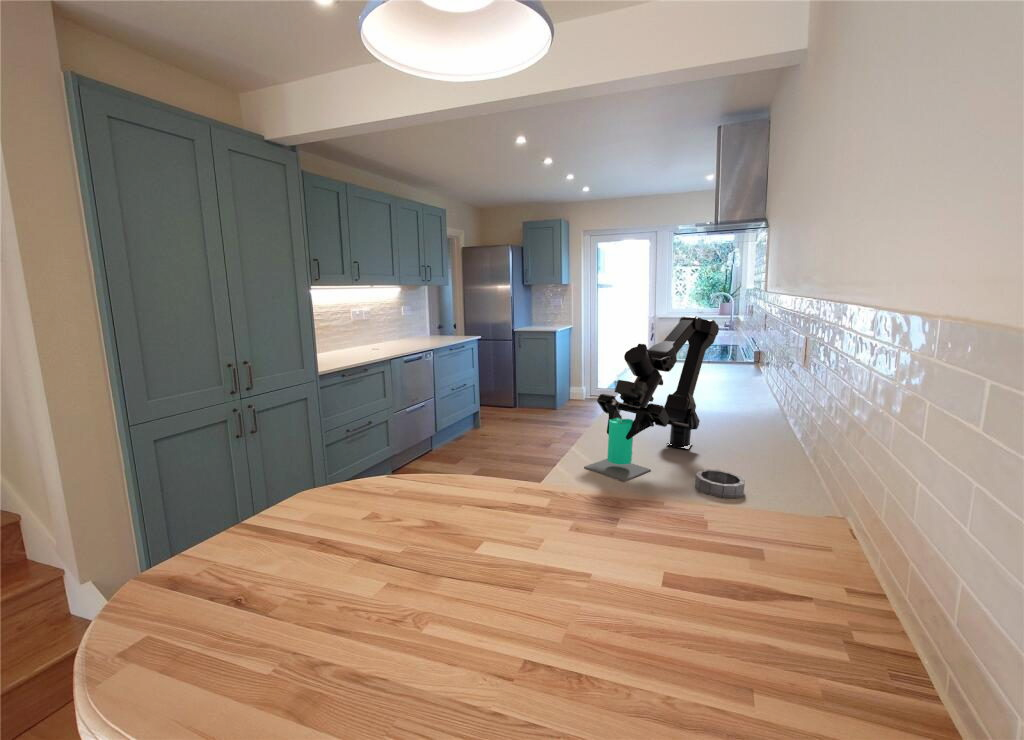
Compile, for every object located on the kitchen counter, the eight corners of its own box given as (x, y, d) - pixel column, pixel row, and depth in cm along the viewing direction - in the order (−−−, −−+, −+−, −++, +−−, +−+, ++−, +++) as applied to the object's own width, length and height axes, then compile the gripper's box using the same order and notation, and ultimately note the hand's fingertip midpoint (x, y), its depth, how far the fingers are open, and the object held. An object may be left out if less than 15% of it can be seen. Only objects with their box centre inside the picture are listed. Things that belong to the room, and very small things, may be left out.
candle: (636, 461, 122) (638, 415, 120) (621, 466, 118) (624, 418, 117) (617, 455, 127) (619, 410, 125) (602, 459, 123) (604, 414, 121)
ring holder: (699, 478, 119) (700, 466, 118) (745, 487, 114) (746, 475, 113) (691, 491, 110) (692, 479, 110) (740, 502, 105) (742, 489, 104)
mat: (611, 458, 131) (611, 457, 131) (650, 470, 123) (650, 469, 123) (584, 468, 123) (584, 466, 123) (624, 482, 115) (624, 480, 114)
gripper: (602, 363, 128) (574, 410, 123) (667, 373, 115) (638, 426, 109) (617, 389, 135) (591, 434, 129) (680, 401, 122) (654, 452, 116)
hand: (617, 436), depth 121 cm, fingers closed on candle, 5 cm apart
